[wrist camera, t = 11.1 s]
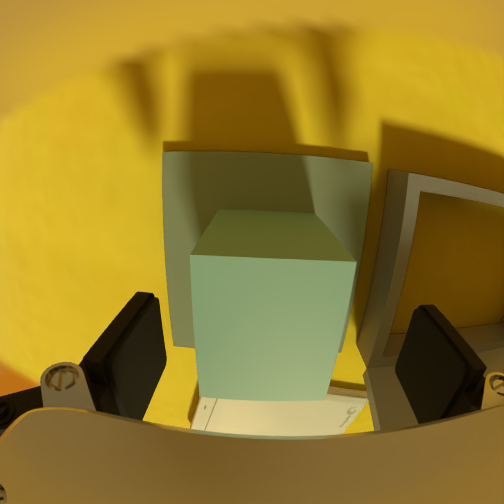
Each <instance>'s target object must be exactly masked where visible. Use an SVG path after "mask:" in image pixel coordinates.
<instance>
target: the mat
mask: <svg viewBox="0 0 504 504" xmlns="http://www.w3.org/2000/svg"><path fill="white" fill-rule="evenodd" d="M372 166H373V163H370V162H362V161H355V160H347V159H338V158H329V157H319V156H307V155H295V154H280V153H262V152H235V151H175V152H163V223H164V245H165V261H166V276H167V288H168V299H169V310H170V319H171V328H172V337H173V345H174V346H178V347H188V348H195V340H194V327H193V311H192V294H191V273H190V254H191V252H192V250H193V249H194V247H195V246H196V244H197V243H198V241H199V239H200V238H201V236H202V235H203V233H204V232H205V230H206V228H207V227H208V225H209V224H210V222H211V221H212V219H213V218H214V216H215V215H216V213H217V211H218V210H219V209H236V210H260V211H281V212H299V213H315V214H316V215H317V216H318V217H319V218H320V219H321V221H322V222H323V223H324V224H325V225H326V226H327V227H328V229H329V230H330V231H331V232H332V233H333V234H334V236H335V237H336V238H337V239H338V240H339V241H340V243H341V244H342V245H343V246H344V247H345V248H346V250H347V251H348V252H349V253H350V254H351V256H352V257H353V258H354V259H355V260H356V262H357V263H356V269H355V275H354V280H353V286H352V291H351V296H350V301H349V306H348V311H347V315H346V320H345V325H344V329H343V333H342V338H341V342H340V346H339V350H338V352H341V351H342V347H343V343H344V339H345V335H346V331H347V326H348V322H349V318H350V313H351V308H352V304H353V299H354V294H355V289H356V284H357V278H358V273H359V267H360V262H361V256H362V249H363V243H364V236H365V229H366V222H367V214H368V206H369V197H370V188H371V177H372Z"/></svg>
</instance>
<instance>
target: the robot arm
mask: <svg viewBox="0 0 504 504" xmlns="http://www.w3.org/2000/svg"><path fill="white" fill-rule="evenodd" d="M166 361H167V357H166V350H165V343H164V336H163V329H162V321H161V313H160V304H159V299H158V298H156V297H154V294H153V293H147V292H136V294H135V295H134V296H133V297H132V298H131V299H130V301H129V302H128V303H127V304H126V305H125V307H124V308H123V309H122V310H121V311H120V313H119V314H118V315H117V316H116V317H115V319H114V320H113V321H112V322H111V323H110V325H109V326H108V327H107V328H106V330H105V331H104V332H103V333H102V335H101V336H100V337H99V338H98V340H97V341H96V342H95V343H94V345H93V346H92V347H91V348H90V350H89V351H88V352H87V354H86V355H85V356H84V357H83V360H82V361H81V363H80V364H79V365H77V364H74V363H72V362H61V363H57V364H54V365H52V366H50V367H48V368H47V369H46V370H45V371H44V372H43V374H42V376H41V381H40V384H41V386H38V387H35V388H31V389H27V390H24V391H20V392H16V393H12V394H8V395H5V396H1V397H0V504H504V374H503V373H500V372H492V373H489V374H488V375H487V376H486V378H485V377H484V376H483V374H484V373H485V371H486V369H487V367H486V365H485V364H484V363H483V362H482V360H481V359H480V358H479V357H478V355H477V354H476V353H475V352H474V350H473V349H472V348H471V347H470V346H469V344H468V343H467V342H466V341H465V340H464V338H463V337H462V336H461V335H460V334H459V333H458V331H457V330H456V329H455V328H454V327H453V326H452V325H451V323H450V322H449V321H448V320H447V319H446V318H445V317H444V315H443V314H442V313H441V312H440V311H439V310H438V309H437V308H436V307H435V306H434V305H420V306H419V307H418V308H417V309H415V310H414V312H413V315H412V319H411V322H410V325H409V328H408V331H407V334H406V337H405V340H404V343H403V346H402V348H401V351H400V354H399V357H398V359H397V362H396V365H395V373H396V375H397V378H398V380H399V382H400V384H401V386H402V388H403V390H404V392H405V395H406V397H407V399H408V401H409V403H410V406H411V408H412V410H413V412H414V414H415V417H416V419H417V421H418V424H417V425H412V426H406V427H400V428H393V429H386V430H379V431H370V432H361V433H351V434H337V435H318V436H265V435H245V434H232V433H221V432H211V431H203V430H195V429H188V428H182V427H175V426H169V425H163V424H157V423H152V422H147V421H142V420H143V417H144V415H145V413H146V410H147V408H148V405H149V403H150V401H151V398H152V396H153V394H154V391H155V389H156V387H157V384H158V382H159V380H160V378H161V375H162V373H163V371H164V368H165V366H166Z"/></svg>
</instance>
